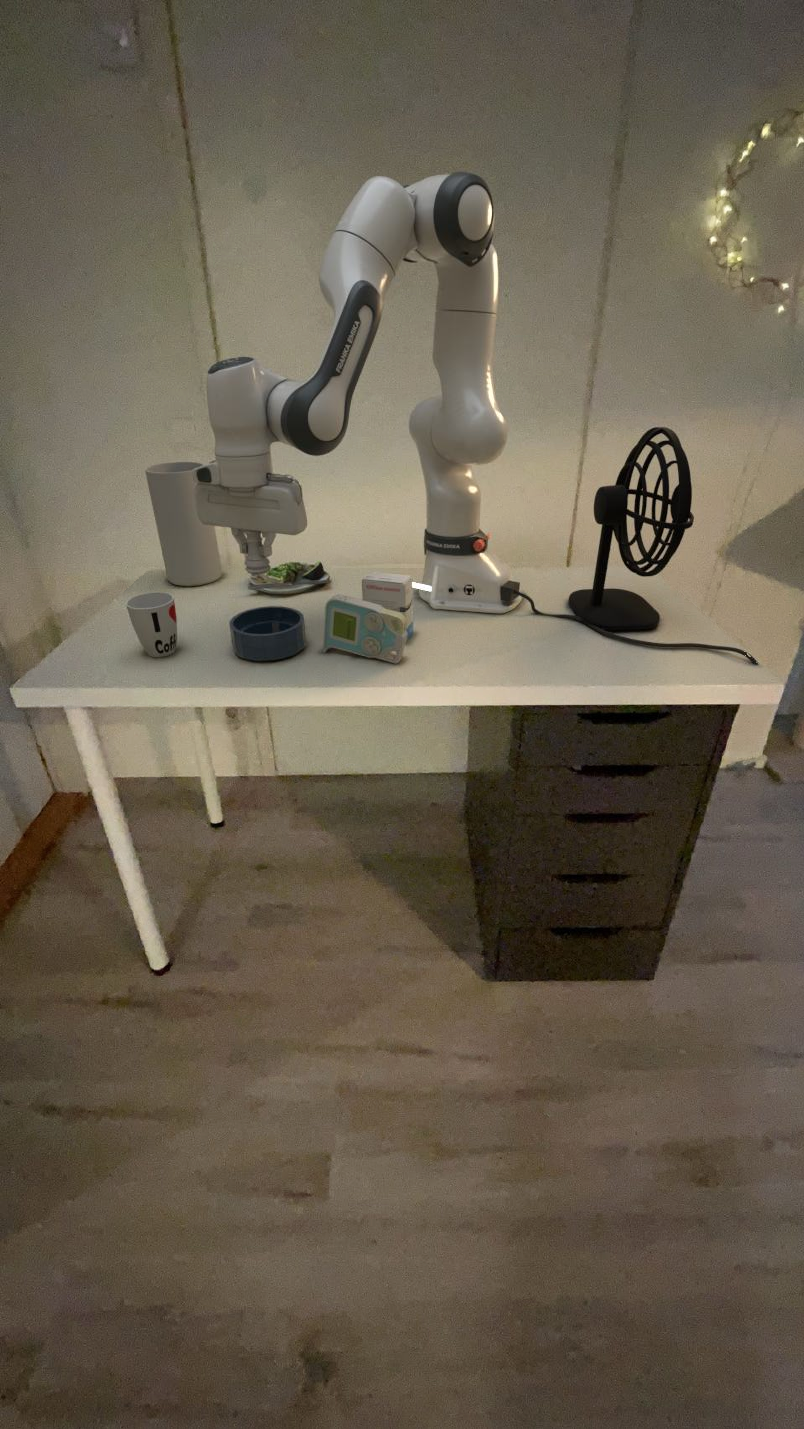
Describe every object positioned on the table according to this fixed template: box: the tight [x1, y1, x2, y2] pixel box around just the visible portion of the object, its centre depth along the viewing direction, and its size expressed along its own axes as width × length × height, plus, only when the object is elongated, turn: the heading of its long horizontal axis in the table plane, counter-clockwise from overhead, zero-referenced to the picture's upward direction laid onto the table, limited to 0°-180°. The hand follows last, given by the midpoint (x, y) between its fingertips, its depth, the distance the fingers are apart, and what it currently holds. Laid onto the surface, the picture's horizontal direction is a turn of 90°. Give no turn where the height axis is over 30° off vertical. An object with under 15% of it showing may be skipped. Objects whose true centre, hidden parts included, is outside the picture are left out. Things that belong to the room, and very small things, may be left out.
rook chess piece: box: [243, 530, 272, 575], centre depth 113 cm, size 4×4×8 cm
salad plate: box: [247, 561, 332, 595], centre depth 149 cm, size 19×18×5 cm
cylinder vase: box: [144, 461, 223, 587], centre depth 148 cm, size 12×12×25 cm
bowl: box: [228, 605, 307, 662], centre depth 120 cm, size 13×13×6 cm
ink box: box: [361, 571, 414, 641], centre depth 123 cm, size 8×5×12 cm, turn 71°
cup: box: [125, 591, 178, 658], centre depth 118 cm, size 8×8×10 cm
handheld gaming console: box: [322, 594, 408, 664], centre depth 116 cm, size 11×3×15 cm
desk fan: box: [568, 426, 695, 631], centre depth 124 cm, size 27×18×35 cm, turn 3°
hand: (256, 554), depth 114 cm, fingers closed on rook chess piece, 3 cm apart
